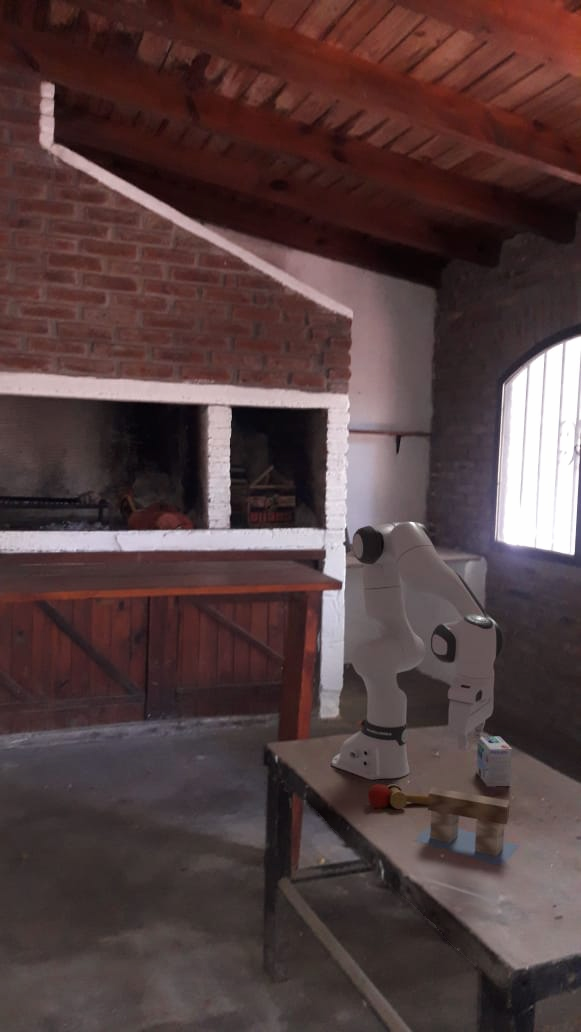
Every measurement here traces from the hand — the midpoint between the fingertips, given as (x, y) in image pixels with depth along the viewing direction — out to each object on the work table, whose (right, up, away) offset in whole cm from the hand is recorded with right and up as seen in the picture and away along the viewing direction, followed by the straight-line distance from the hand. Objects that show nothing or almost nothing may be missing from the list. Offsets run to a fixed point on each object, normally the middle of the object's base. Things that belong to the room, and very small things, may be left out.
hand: (470, 743), depth 195 cm
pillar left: (-6, -23, +2) cm, 23 cm away
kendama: (-13, -22, +20) cm, 33 cm away
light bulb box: (+15, -21, +40) cm, 47 cm away
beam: (-1, -16, -1) cm, 16 cm away
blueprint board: (-1, -24, -1) cm, 24 cm away
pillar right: (+4, -23, -4) cm, 24 cm away
